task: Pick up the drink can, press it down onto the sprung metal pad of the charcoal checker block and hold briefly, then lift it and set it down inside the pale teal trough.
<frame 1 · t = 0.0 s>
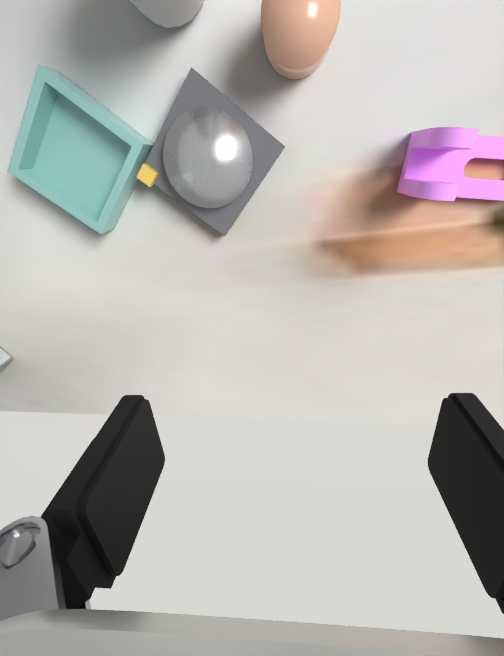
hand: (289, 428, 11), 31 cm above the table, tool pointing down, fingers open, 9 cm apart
bracket: (465, 167, 34), on the table
trough: (89, 158, 36), on the table
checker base: (213, 160, 35), on the table
peach rounded knob: (297, 39, 30), on the table
checker pad: (208, 160, 33), point 3 cm above the table, slide at 0.0 cm
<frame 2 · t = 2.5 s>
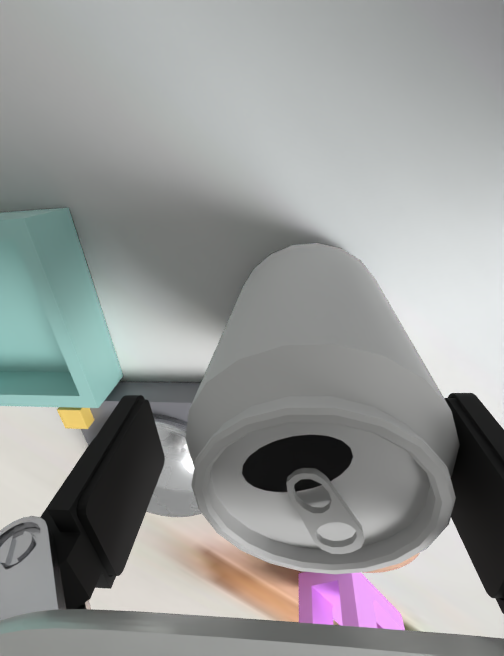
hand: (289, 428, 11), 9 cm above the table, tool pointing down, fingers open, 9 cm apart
bracket: (356, 595, 33), on the table
can: (307, 304, 18), on the table
trough: (19, 304, 20), on the table
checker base: (174, 439, 25), on the table
checker pad: (162, 468, 22), point 3 cm above the table, slide at 0.0 cm
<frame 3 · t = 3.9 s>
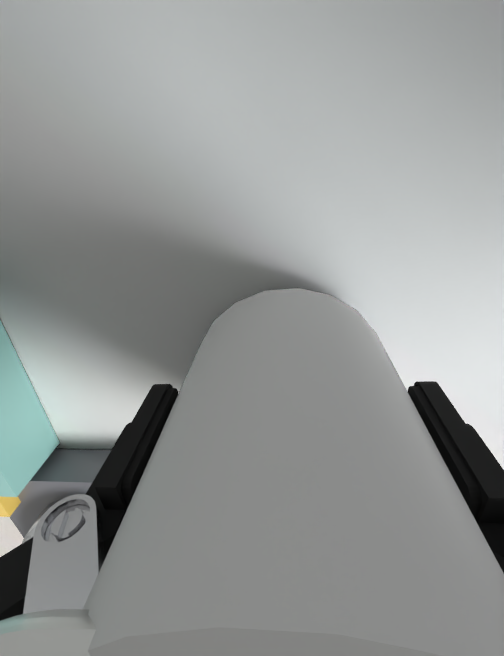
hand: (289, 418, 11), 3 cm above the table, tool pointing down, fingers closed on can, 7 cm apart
can: (288, 359, 14), on the table, touching gripper
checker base: (130, 512, 20), on the table
checker pad: (111, 558, 18), point 3 cm above the table, slide at 0.0 cm
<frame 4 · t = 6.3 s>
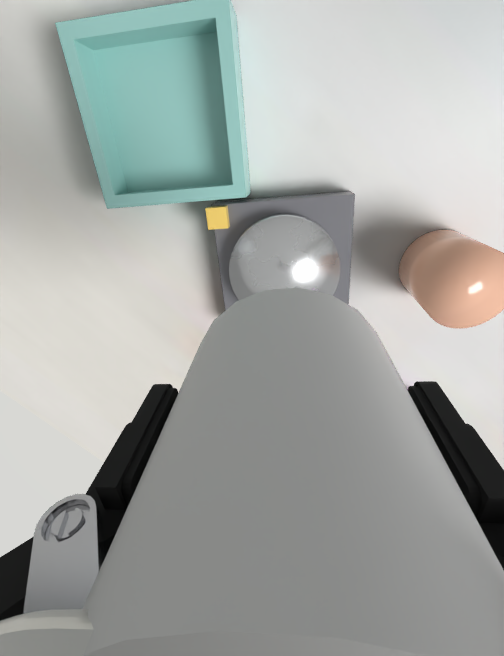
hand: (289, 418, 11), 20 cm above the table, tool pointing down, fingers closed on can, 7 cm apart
can: (288, 359, 14), point 17 cm above the table, touching gripper
trough: (173, 121, 25), on the table
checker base: (284, 262, 29), on the table
peach rounded knob: (435, 265, 28), on the table
checker pad: (283, 271, 27), point 3 cm above the table, slide at 0.0 cm
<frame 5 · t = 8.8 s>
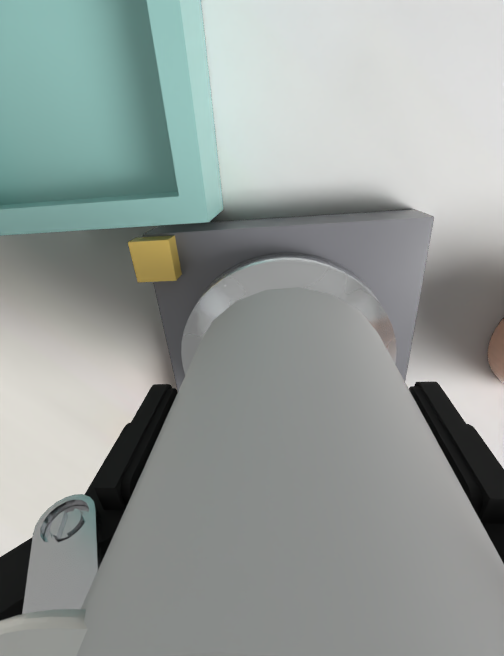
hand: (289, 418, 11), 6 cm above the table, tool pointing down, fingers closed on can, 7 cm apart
can: (288, 360, 14), point 3 cm above the table, touching checker pad, gripper
trough: (62, 65, 12), on the table
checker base: (284, 329, 17), on the table
checker pad: (285, 357, 14), point 3 cm above the table, slide at 0.0 cm, touching can, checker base
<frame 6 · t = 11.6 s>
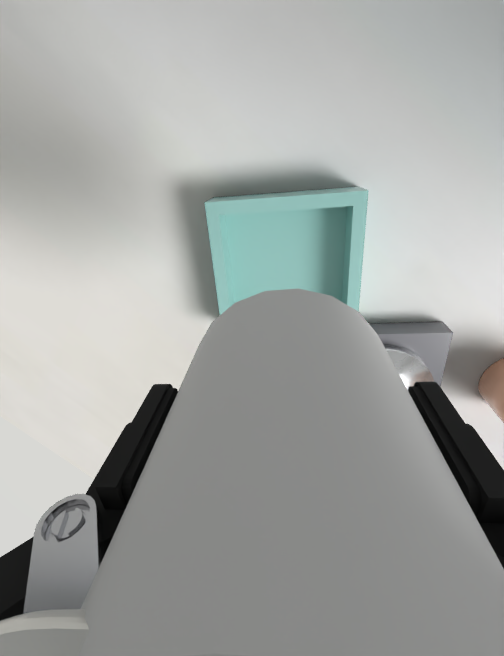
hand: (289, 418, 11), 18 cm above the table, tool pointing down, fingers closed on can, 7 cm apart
can: (287, 361, 14), point 15 cm above the table, touching gripper
trough: (286, 262, 27), on the table
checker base: (371, 373, 32), on the table
checker pad: (378, 390, 29), point 3 cm above the table, slide at 0.0 cm, touching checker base
when the fingers open (5 cm above the table, at t = 14.0 s): can drops 1 cm, resting on trough.
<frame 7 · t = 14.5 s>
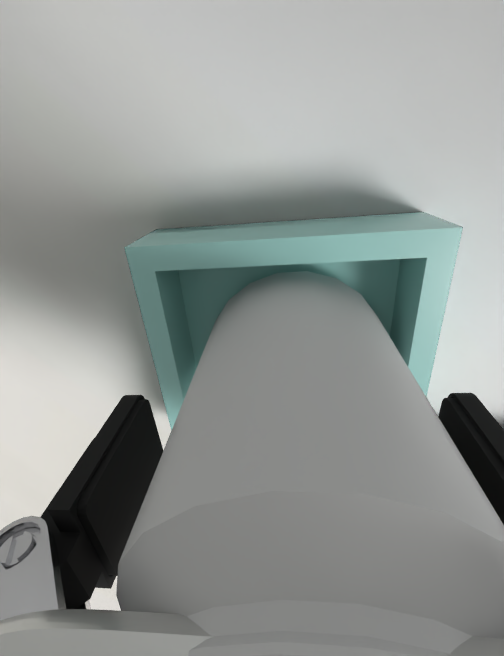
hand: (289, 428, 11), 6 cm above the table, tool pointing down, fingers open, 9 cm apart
can: (293, 340, 15), point 1 cm above the table, touching trough
trough: (287, 336, 16), on the table
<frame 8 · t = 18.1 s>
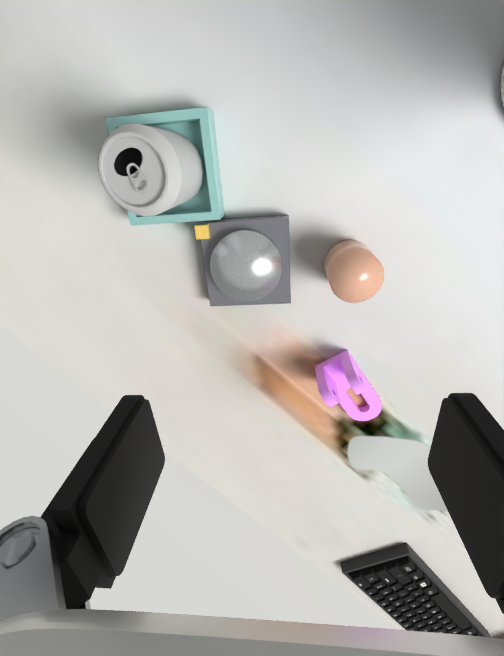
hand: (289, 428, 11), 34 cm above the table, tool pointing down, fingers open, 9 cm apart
bracket: (350, 385, 52), on the table
computer keyboard: (417, 594, 79), on the table
can: (174, 168, 38), point 1 cm above the table, touching trough
trough: (174, 170, 39), on the table
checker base: (248, 260, 43), on the table
peach rounded knob: (347, 263, 42), on the table
checker pad: (246, 266, 41), point 3 cm above the table, slide at 0.0 cm, touching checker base
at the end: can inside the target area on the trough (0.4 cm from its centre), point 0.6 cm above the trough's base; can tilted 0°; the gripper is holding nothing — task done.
